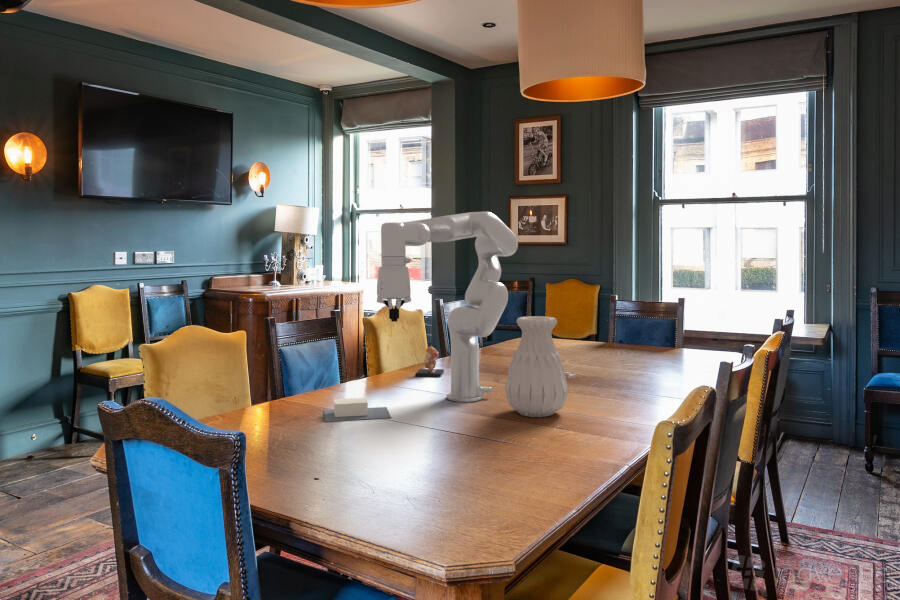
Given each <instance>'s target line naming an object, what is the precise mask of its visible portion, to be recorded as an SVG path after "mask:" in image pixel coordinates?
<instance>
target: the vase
mask: <svg viewBox="0 0 900 600" xmlns="http://www.w3.org/2000/svg"><path fill="white" fill-rule="evenodd" d="M516 323H517V325H518V327H519V328H520V330H521V337H520V338H521V339H520V341H519V344H518V347H517V349H516V350H515V352H514V354H513V356H512V359H511V362H510V364H509V367H508V370H507V371H508V374H507V378H506V381H505V385H504V392H505V395H506V398H507V402H508V405H509V406H510V407H511V408H512V410H514V411H516V412H518V414H520V415H522V416H525V417H530V418H536V417H537V418H544V417H550V416H552V415H554V414H555V413H557V412H558V411H560V410H561V409H562V408H563V407H564V406H565V403H566V401H567V397H568V394H569V386H568V382H567V379H566V378H567V377H566V370H565V366H564V364H563V362H562V359H561V355H560V353H559V352H558V350H557V348H556V346H555V343H554V341H553V336H552V333H553V332H552V331H553V329H554V328H555V327H556V325H557V324H558V319H557V318H556V317H551V316H543V315H541V316H538V315H537V316H535V315H534V316H529V315H528V316H520V317H519V316H518V317H517V319H516Z"/></svg>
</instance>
